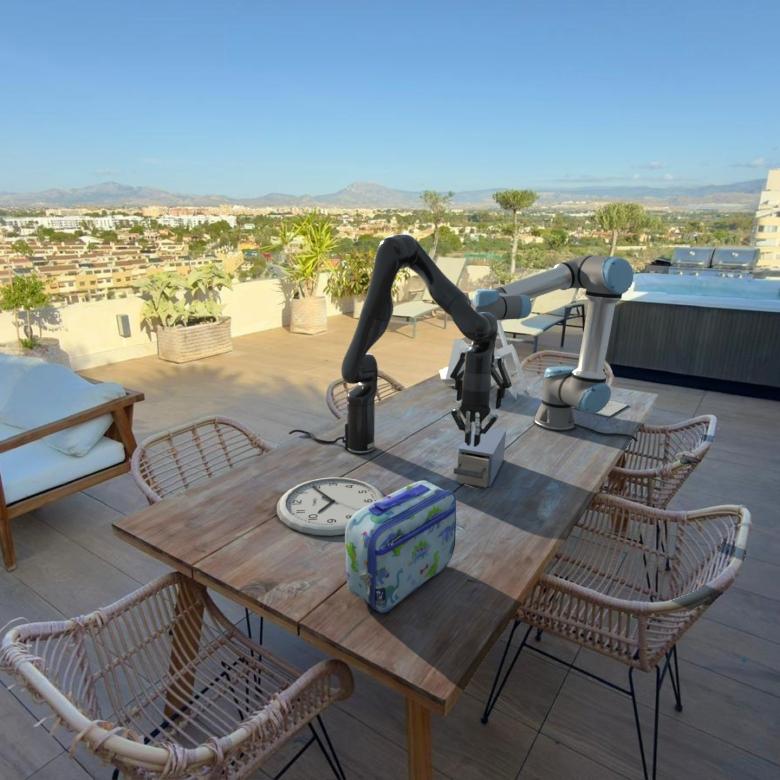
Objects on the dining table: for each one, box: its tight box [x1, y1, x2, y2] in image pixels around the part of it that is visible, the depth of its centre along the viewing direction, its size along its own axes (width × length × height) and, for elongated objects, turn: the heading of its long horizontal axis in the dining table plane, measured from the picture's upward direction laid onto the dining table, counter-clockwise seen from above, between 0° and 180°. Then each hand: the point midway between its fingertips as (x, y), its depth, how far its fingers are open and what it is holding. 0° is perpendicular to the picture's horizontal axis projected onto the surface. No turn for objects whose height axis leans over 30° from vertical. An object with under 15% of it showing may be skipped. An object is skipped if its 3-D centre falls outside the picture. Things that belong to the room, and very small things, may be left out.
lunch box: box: [344, 480, 457, 614], centre depth 109 cm, size 26×11×21 cm, turn 135°
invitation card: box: [573, 399, 629, 418], centre depth 226 cm, size 21×1×15 cm
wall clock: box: [276, 476, 386, 537], centre depth 142 cm, size 30×2×30 cm
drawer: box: [453, 452, 489, 488], centre depth 158 cm, size 25×9×8 cm, turn 157°
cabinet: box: [458, 426, 507, 487], centre depth 164 cm, size 20×10×10 cm, turn 157°
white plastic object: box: [438, 320, 531, 400], centre depth 245 cm, size 37×45×31 cm
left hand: (472, 445), depth 147 cm, fingers closed
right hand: (478, 403), depth 170 cm, fingers open, 13 cm apart
